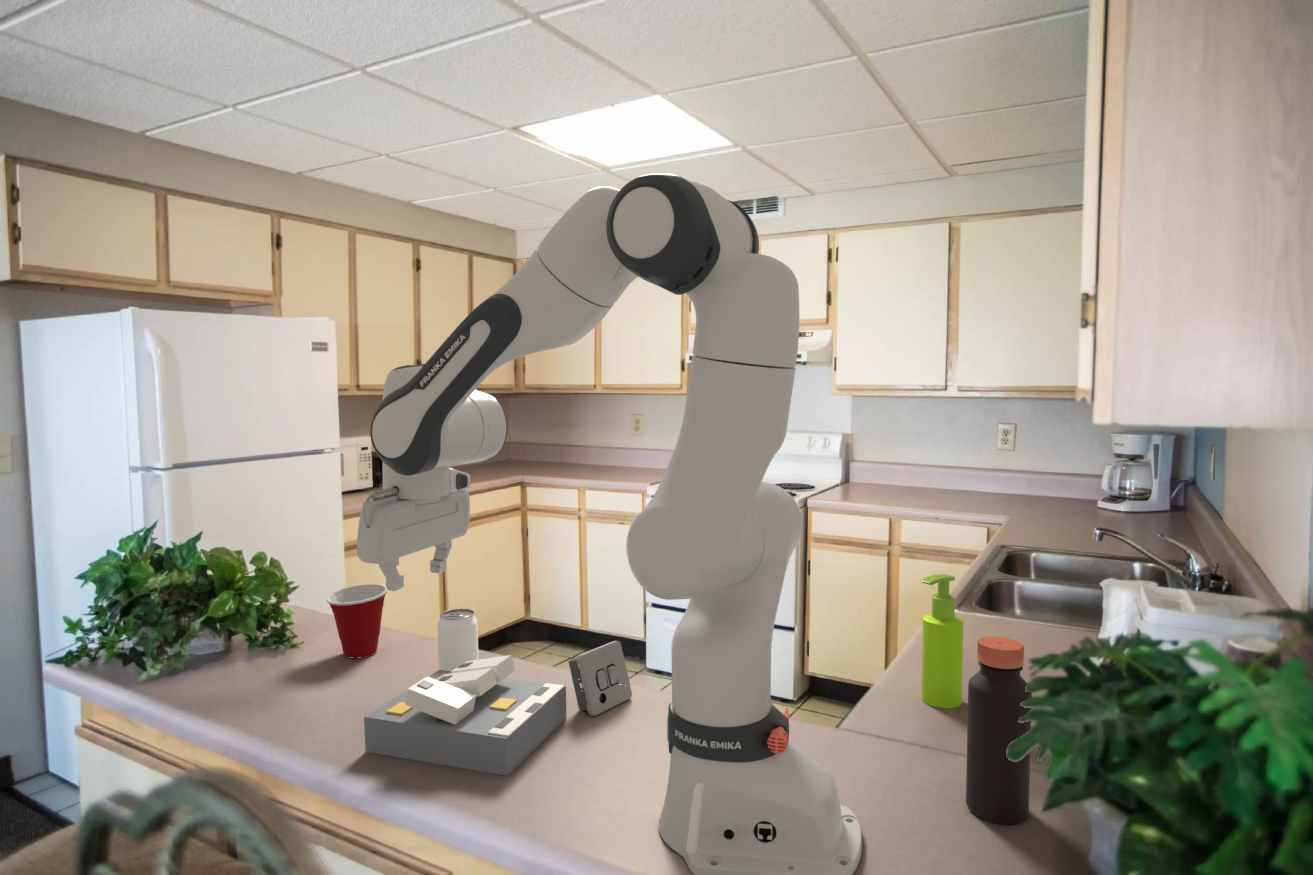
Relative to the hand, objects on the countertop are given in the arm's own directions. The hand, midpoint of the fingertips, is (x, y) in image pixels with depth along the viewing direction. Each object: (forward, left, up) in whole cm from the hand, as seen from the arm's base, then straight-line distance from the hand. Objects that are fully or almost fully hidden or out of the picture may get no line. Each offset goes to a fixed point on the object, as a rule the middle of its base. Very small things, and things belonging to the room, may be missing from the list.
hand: (417, 580), depth 108 cm
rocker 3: (-5, -9, -17) cm, 20 cm away
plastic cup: (+33, -27, -23) cm, 48 cm away
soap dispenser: (-70, -35, -23) cm, 82 cm away
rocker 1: (-4, +2, -17) cm, 18 cm away
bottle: (-75, -5, -23) cm, 79 cm away
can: (+7, -20, -23) cm, 31 cm away
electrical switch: (-19, -19, -24) cm, 36 cm away
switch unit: (-5, -4, -23) cm, 24 cm away
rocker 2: (-5, -4, -17) cm, 18 cm away
